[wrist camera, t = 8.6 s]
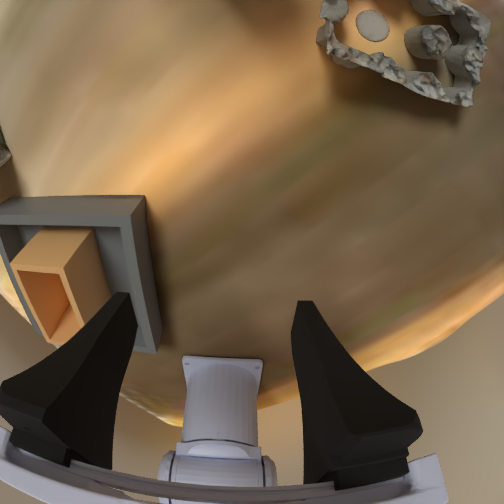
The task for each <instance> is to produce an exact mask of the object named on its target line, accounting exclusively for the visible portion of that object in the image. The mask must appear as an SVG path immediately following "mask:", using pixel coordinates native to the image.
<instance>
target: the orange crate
mask: <svg viewBox="0 0 504 504" xmlns="http://www.w3.org/2000/svg"><path fill="white" fill-rule="evenodd" d="M10 266H11V268H12V271H13V273H14V276H15V278H16V280H17V283H18V285H19V287H20V289H21V292H22V294H23V296H24V298H25V300H26V302H27V304H28V307H29V309H30V311H31V313H32V315H33V317H34V319H35V320H36V322H37V324H38V326H39V328H40V330H41V332H42V334H43V335H44V337H45V339H46V341H47V342H48V343H52V344H56V345H61V346H62V345H63V344H65V343H66V342H67V341H68V340H69V339H71V338H72V337H73V336H74V335H75V334H76V333H77V332H78V331H79V330H80V329H81V328H82V327H83V326H84V325H85V324H86V323H87V322H88V321H89V320H90V319H91V318H92V317H93V316H94V315H95V314H96V313H97V312H98V311H99V310H100V309H101V308H102V307H103V306H104V305H105V303H106V302H107V301H108V300H109V299H110V298H111V297H112V296H111V293H110V290H109V286H108V283H107V279H106V275H105V272H104V268H103V264H102V260H101V256H100V252H99V248H98V244H97V240H96V235H95V231H94V227H43V228H42V229H41V230H40V231H39V232H38V233H37V234H36V235H35V236H34V237H33V238H32V239H31V240H30V241H29V242H28V243H27V244H26V246H25V247H24V248H23V249H22V250H21V251H20V252H19V253H18V255H17V256H16V257H15V258H14V259H13V260H12V261H11V263H10Z"/></svg>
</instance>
